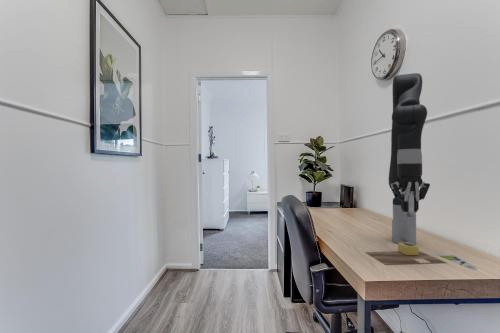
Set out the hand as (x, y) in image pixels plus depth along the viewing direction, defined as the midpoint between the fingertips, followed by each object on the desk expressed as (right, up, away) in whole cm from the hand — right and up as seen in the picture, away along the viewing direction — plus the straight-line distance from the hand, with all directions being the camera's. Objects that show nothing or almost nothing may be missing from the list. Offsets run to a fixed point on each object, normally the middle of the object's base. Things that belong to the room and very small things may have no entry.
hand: (409, 211), depth 94 cm
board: (0, -19, +3) cm, 19 cm away
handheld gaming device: (+17, -19, +3) cm, 26 cm away
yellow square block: (+4, -17, +8) cm, 19 cm away
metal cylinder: (0, -2, 0) cm, 2 cm away
